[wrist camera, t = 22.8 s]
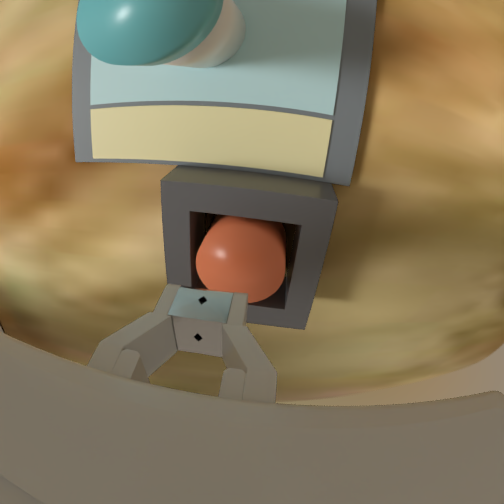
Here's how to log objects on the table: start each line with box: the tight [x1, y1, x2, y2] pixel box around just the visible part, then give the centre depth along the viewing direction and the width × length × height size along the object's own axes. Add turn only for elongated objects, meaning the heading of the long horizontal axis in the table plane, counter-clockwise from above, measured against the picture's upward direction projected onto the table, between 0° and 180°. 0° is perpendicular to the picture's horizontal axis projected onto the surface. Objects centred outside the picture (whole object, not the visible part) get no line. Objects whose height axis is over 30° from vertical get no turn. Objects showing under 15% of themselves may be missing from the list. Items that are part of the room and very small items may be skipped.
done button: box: [196, 214, 286, 303], centre depth 16 cm, size 4×4×3 cm
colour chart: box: [72, 0, 377, 186], centre depth 11 cm, size 14×16×1 cm
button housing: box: [161, 165, 338, 330], centre depth 16 cm, size 8×8×3 cm
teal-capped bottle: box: [77, 0, 246, 68], centre depth 8 cm, size 4×4×7 cm
